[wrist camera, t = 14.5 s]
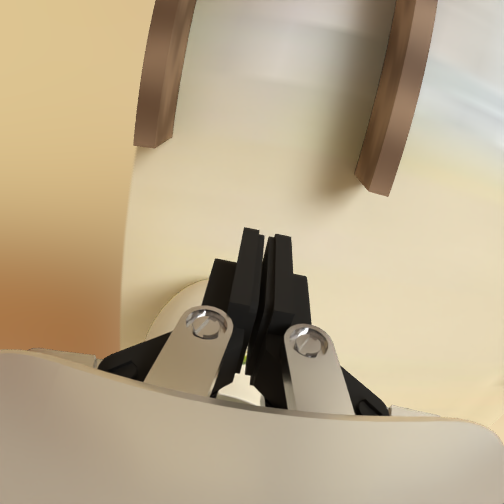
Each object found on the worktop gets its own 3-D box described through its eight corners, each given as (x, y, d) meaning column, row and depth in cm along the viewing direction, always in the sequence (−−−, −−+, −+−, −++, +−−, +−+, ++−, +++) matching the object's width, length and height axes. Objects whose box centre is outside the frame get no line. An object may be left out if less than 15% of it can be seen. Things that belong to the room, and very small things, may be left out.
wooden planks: (197, -75, 14) (184, -97, 10) (419, -26, 15) (442, -39, 11) (153, 134, 23) (133, 145, 19) (371, 178, 24) (388, 196, 20)
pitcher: (229, 380, 36) (216, 487, 24) (128, 265, 29) (60, 378, 17) (317, 352, 33) (329, 470, 21) (227, 211, 26) (190, 334, 14)
